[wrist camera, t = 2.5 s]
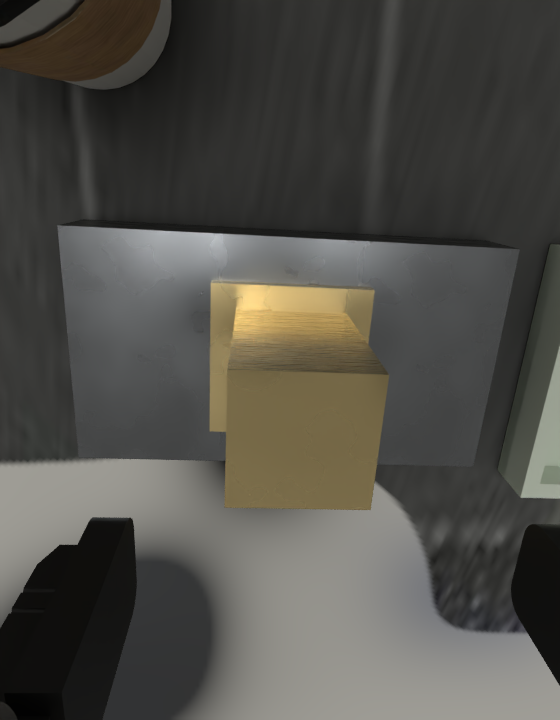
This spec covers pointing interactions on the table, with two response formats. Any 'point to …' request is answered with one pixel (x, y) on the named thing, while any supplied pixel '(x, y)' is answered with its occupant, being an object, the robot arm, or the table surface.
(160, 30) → the coffee cup
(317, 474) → the brass plug
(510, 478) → the parts tray
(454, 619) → the table surface
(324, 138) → the table surface
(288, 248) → the grey metal block
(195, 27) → the table surface
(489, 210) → the table surface
